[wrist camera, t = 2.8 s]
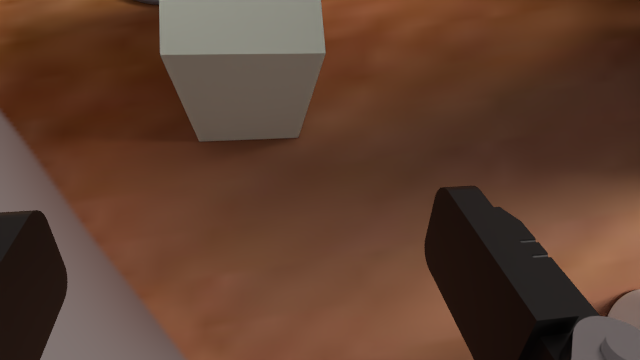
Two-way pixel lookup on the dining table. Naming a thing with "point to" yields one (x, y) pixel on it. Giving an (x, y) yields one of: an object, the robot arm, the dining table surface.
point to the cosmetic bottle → (627, 309)
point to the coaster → (149, 1)
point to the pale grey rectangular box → (243, 64)
